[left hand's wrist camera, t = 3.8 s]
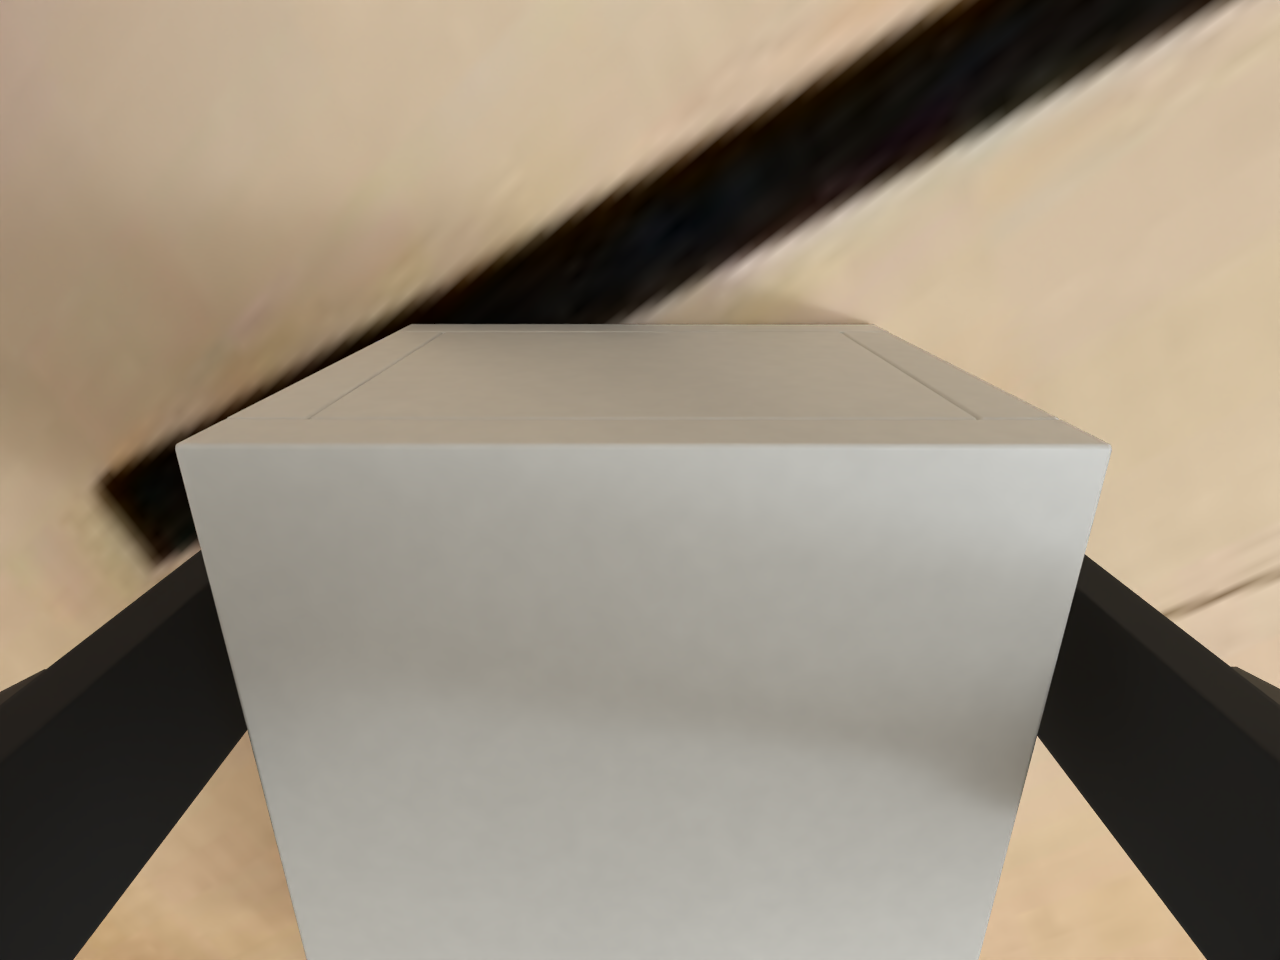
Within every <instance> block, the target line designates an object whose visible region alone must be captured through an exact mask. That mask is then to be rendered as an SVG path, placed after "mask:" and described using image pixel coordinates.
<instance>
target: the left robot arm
mask: <svg viewBox="0 0 1280 960" xmlns="http://www.w3.org/2000/svg"><path fill="white" fill-rule="evenodd" d="M246 731H247V726H246V722H245V718H244V714H243V710H242V706H241V703H240V699H239V695H238V691H237V687H236V683H235V679H234V675H233V671H232V668H231V664H230V660H229V656H228V652H227V648H226V644H225V640H224V637H223V633H222V629H221V625H220V621H219V617H218V613H217V609H216V606H215V602H214V598H213V594H212V590H211V586H210V582H209V578H208V574H207V571H206V567H205V563H204V559H203V555H202V551H201V550H200V551H199V552H198V553H196V554H195V555H194V556H193V557H191V558H190V559H189V560H187V561H186V562H185V563H183V564H182V565H181V566H180V567H178V568H177V569H176V570H174V571H173V572H172V573H170V574H169V575H168V576H167V577H165V578H164V579H163V580H161V581H160V582H159V583H158V584H156V585H155V586H154V587H152V588H151V589H150V590H148V591H147V592H146V593H145V594H143V595H142V596H141V597H139V598H138V599H137V600H136V601H134V602H133V603H132V604H130V605H129V606H128V607H126V608H125V609H124V610H123V611H121V612H120V613H119V614H117V615H116V616H115V617H114V618H112V619H111V620H110V621H108V622H107V623H106V624H104V625H103V626H102V627H101V628H99V629H98V630H97V631H95V632H94V633H93V634H91V635H90V636H89V637H88V638H86V639H85V640H84V641H82V642H81V643H80V644H79V645H77V646H76V647H75V648H73V649H72V650H71V651H69V652H68V653H67V654H66V655H64V656H63V657H62V658H60V659H59V660H58V661H57V662H55V663H54V664H53V665H51V666H50V667H49V668H47V669H44V670H42V671H40V672H38V673H36V674H34V675H32V676H30V677H28V678H27V679H25V680H23V681H21V682H19V683H17V684H15V685H13V686H11V687H9V688H7V689H5V690H3V691H1V692H0V960H73V959H74V958H75V957H76V955H77V954H78V953H79V951H80V950H81V949H82V947H83V946H84V945H85V943H86V942H87V941H88V939H89V938H90V937H91V935H92V934H93V933H94V931H95V930H96V929H97V927H98V926H99V925H100V924H101V922H102V921H103V920H104V918H105V917H106V916H107V914H108V913H109V912H110V910H111V909H112V908H113V906H114V905H115V904H116V902H117V901H118V900H119V898H120V897H121V896H122V894H123V893H124V892H125V890H126V889H127V888H128V887H129V885H130V884H131V883H132V881H133V880H134V879H135V877H136V876H137V875H138V873H139V872H140V871H141V869H142V868H143V867H144V865H145V864H146V863H147V861H148V860H149V859H150V857H151V856H152V855H153V854H154V852H155V851H156V850H157V848H158V847H159V846H160V844H161V843H162V842H163V840H164V839H165V838H166V836H167V835H168V834H169V832H170V831H171V830H172V828H173V827H174V826H175V824H176V823H177V822H178V821H179V819H180V818H181V817H182V815H183V814H184V813H185V811H186V810H187V809H188V807H189V806H190V805H191V803H192V802H193V801H194V799H195V798H196V797H197V795H198V794H199V793H200V791H201V790H202V789H203V787H204V786H205V785H206V784H207V782H208V781H209V780H210V778H211V777H212V776H213V774H214V773H215V772H216V770H217V769H218V768H219V766H220V765H221V764H222V762H223V761H224V760H225V758H226V757H227V756H228V754H229V753H230V752H231V751H232V749H233V748H234V747H235V745H236V744H237V743H238V741H239V740H240V739H241V737H242V736H243V735H244V733H245V732H246ZM1037 736H1038V737H1039V739H1040V740H1041V741H1042V743H1043V744H1044V745H1045V747H1046V748H1047V749H1048V750H1049V752H1050V753H1051V754H1052V756H1053V757H1054V758H1055V760H1056V761H1057V762H1058V764H1059V765H1060V766H1061V768H1062V769H1063V770H1064V772H1065V773H1066V774H1067V776H1068V777H1069V778H1070V780H1071V781H1072V782H1073V783H1074V785H1075V786H1076V787H1077V789H1078V790H1079V791H1080V793H1081V794H1082V795H1083V797H1084V798H1085V799H1086V801H1087V802H1088V803H1089V805H1090V806H1091V807H1092V809H1093V810H1094V811H1095V813H1096V814H1097V815H1098V817H1099V818H1100V819H1101V820H1102V822H1103V823H1104V824H1105V826H1106V827H1107V828H1108V830H1109V831H1110V832H1111V834H1112V835H1113V836H1114V838H1115V839H1116V840H1117V842H1118V843H1119V844H1120V846H1121V847H1122V848H1123V850H1124V851H1125V852H1126V853H1127V855H1128V856H1129V857H1130V859H1131V860H1132V861H1133V863H1134V864H1135V865H1136V867H1137V868H1138V869H1139V871H1140V872H1141V873H1142V875H1143V876H1144V877H1145V879H1146V880H1147V881H1148V883H1149V884H1150V885H1151V886H1152V888H1153V889H1154V890H1155V892H1156V893H1157V894H1158V896H1159V897H1160V898H1161V900H1162V901H1163V902H1164V904H1165V905H1166V906H1167V908H1168V909H1169V910H1170V912H1171V913H1172V914H1173V916H1174V917H1175V918H1176V920H1177V921H1178V922H1179V923H1180V925H1181V926H1182V927H1183V929H1184V930H1185V931H1186V933H1187V934H1188V935H1189V937H1190V938H1191V939H1192V941H1193V942H1194V943H1195V945H1196V946H1197V947H1198V949H1199V950H1200V951H1201V953H1202V954H1203V955H1204V956H1205V958H1206V959H1207V960H1280V689H1279V688H1277V687H1275V686H1273V685H1271V684H1269V683H1267V682H1265V681H1263V680H1261V679H1259V678H1257V677H1255V676H1254V675H1252V674H1250V673H1248V672H1246V671H1244V670H1242V669H1240V668H1238V667H1230V666H1229V665H1227V664H1226V663H1225V662H1224V661H1222V660H1221V659H1220V658H1218V657H1217V656H1216V655H1214V654H1213V653H1212V652H1211V651H1209V650H1208V649H1207V648H1205V647H1204V646H1203V645H1201V644H1200V643H1199V642H1198V641H1196V640H1195V639H1194V638H1192V637H1191V636H1190V635H1189V634H1187V633H1186V632H1185V631H1183V630H1182V629H1181V628H1179V627H1178V626H1177V625H1176V624H1174V623H1173V622H1172V621H1170V620H1169V619H1168V618H1167V617H1165V616H1164V615H1163V614H1161V613H1160V612H1159V611H1157V610H1156V609H1155V608H1154V607H1152V606H1151V605H1150V604H1148V603H1147V602H1146V601H1145V600H1143V599H1142V598H1141V597H1139V596H1138V595H1137V594H1135V593H1134V592H1133V591H1132V590H1130V589H1129V588H1128V587H1126V586H1125V585H1124V584H1122V583H1121V582H1120V581H1119V580H1117V579H1116V578H1115V577H1113V576H1112V575H1111V574H1110V573H1108V572H1107V571H1106V570H1104V569H1103V568H1102V567H1100V566H1099V565H1098V564H1097V563H1095V562H1094V561H1093V560H1091V559H1090V558H1089V557H1088V556H1086V555H1085V554H1084V558H1083V562H1082V566H1081V569H1080V573H1079V577H1078V581H1077V585H1076V589H1075V592H1074V596H1073V600H1072V604H1071V608H1070V612H1069V615H1068V619H1067V623H1066V627H1065V631H1064V634H1063V638H1062V642H1061V646H1060V650H1059V654H1058V657H1057V661H1056V665H1055V669H1054V673H1053V676H1052V680H1051V684H1050V688H1049V692H1048V696H1047V699H1046V703H1045V707H1044V711H1043V715H1042V719H1041V722H1040V726H1039V730H1038V734H1037Z"/></svg>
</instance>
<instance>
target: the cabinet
mask: <svg viewBox="0 0 1280 960" xmlns="http://www.w3.org/2000/svg"><path fill="white" fill-rule="evenodd" d="M175 450H176V454H177V458H178V462H179V466H180V470H181V474H182V477H183V481H184V485H185V489H186V493H187V497H188V501H189V505H190V509H191V512H192V516H193V520H194V524H195V528H196V532H197V536H198V540H199V543H200V547H201V551H202V555H203V559H204V563H205V567H206V571H207V574H208V578H209V582H210V586H211V590H212V594H213V598H214V602H215V606H216V609H217V613H218V617H219V621H220V625H221V629H222V633H223V637H224V640H225V644H226V648H227V652H228V656H229V660H230V664H231V668H232V671H233V675H234V679H235V683H236V687H237V691H238V695H239V699H240V703H241V706H242V710H243V714H244V718H245V722H246V726H247V730H248V734H249V737H250V741H251V745H252V749H253V753H254V757H255V761H256V765H257V769H258V772H259V776H260V780H261V784H262V788H263V792H264V796H265V800H266V803H267V807H268V811H269V815H270V819H271V823H272V827H273V831H274V834H275V838H276V842H277V846H278V850H279V854H280V858H281V862H282V866H283V869H284V873H285V877H286V881H287V885H288V889H289V893H290V897H291V900H292V904H293V908H294V912H295V916H296V920H297V924H298V928H299V931H300V935H301V939H302V943H303V947H304V951H305V955H306V959H307V960H978V959H979V956H980V952H981V948H982V944H983V940H984V936H985V933H986V929H987V925H988V921H989V917H990V914H991V910H992V906H993V902H994V898H995V894H996V891H997V887H998V883H999V879H1000V875H1001V871H1002V868H1003V864H1004V860H1005V856H1006V852H1007V849H1008V845H1009V841H1010V837H1011V833H1012V829H1013V826H1014V822H1015V818H1016V814H1017V810H1018V806H1019V803H1020V799H1021V795H1022V791H1023V787H1024V784H1025V780H1026V776H1027V772H1028V768H1029V764H1030V761H1031V757H1032V753H1033V749H1034V745H1035V741H1036V738H1037V734H1038V730H1039V726H1040V722H1041V719H1042V715H1043V711H1044V707H1045V703H1046V699H1047V696H1048V692H1049V688H1050V684H1051V680H1052V676H1053V673H1054V669H1055V665H1056V661H1057V657H1058V654H1059V650H1060V646H1061V642H1062V638H1063V634H1064V631H1065V627H1066V623H1067V619H1068V615H1069V612H1070V608H1071V604H1072V600H1073V596H1074V592H1075V589H1076V585H1077V581H1078V577H1079V573H1080V569H1081V566H1082V562H1083V558H1084V554H1085V550H1086V547H1087V543H1088V539H1089V535H1090V531H1091V527H1092V524H1093V520H1094V516H1095V512H1096V508H1097V504H1098V501H1099V497H1100V493H1101V489H1102V485H1103V482H1104V478H1105V474H1106V470H1107V466H1108V462H1109V459H1110V455H1111V451H1112V448H1111V445H1110V444H1108V443H1106V442H1104V441H1102V440H1100V439H1098V438H1096V437H1094V436H1093V435H1091V434H1089V433H1087V432H1085V431H1083V430H1081V429H1079V428H1077V427H1075V426H1073V425H1071V424H1069V423H1067V422H1065V421H1063V420H1059V419H1058V418H1057V417H1055V416H1053V415H1051V414H1049V413H1047V412H1045V411H1043V410H1041V409H1039V408H1037V407H1035V406H1033V405H1031V404H1029V403H1027V402H1025V401H1023V400H1021V399H1019V398H1017V397H1015V396H1013V395H1011V394H1009V393H1007V392H1005V391H1003V390H1001V389H999V388H997V387H995V386H993V385H992V384H990V383H988V382H986V381H984V380H982V379H980V378H978V377H976V376H974V375H972V374H970V373H968V372H966V371H964V370H962V369H960V368H958V367H956V366H954V365H952V364H950V363H948V362H946V361H944V360H942V359H940V358H938V357H936V356H934V355H932V354H930V353H928V352H926V351H924V350H922V349H920V348H918V347H916V346H915V345H913V344H911V343H909V342H907V341H905V340H903V339H901V338H899V337H897V336H895V335H893V334H891V333H889V332H888V331H886V330H884V329H882V328H880V327H878V326H876V325H874V324H411V325H409V326H407V327H405V328H403V329H401V330H399V331H397V332H395V333H393V334H391V335H389V336H387V337H385V338H383V339H381V340H379V341H377V342H375V343H374V344H372V345H370V346H368V347H366V348H364V349H362V350H360V351H358V352H356V353H354V354H352V355H350V356H348V357H346V358H344V359H342V360H340V361H338V362H336V363H334V364H332V365H330V366H328V367H326V368H324V369H322V370H320V371H318V372H316V373H314V374H312V375H310V376H308V377H307V378H305V379H303V380H301V381H299V382H297V383H295V384H293V385H291V386H289V387H287V388H285V389H283V390H281V391H279V392H277V393H275V394H273V395H271V396H269V397H267V398H265V399H263V400H261V401H259V402H257V403H255V404H253V405H251V406H249V407H247V408H245V409H243V410H241V411H239V412H238V413H236V414H234V415H232V416H230V417H228V418H227V419H225V420H223V421H221V422H219V423H217V424H215V425H213V426H211V427H209V428H207V429H205V430H203V431H201V432H199V433H197V434H195V435H193V436H191V437H189V438H187V439H185V440H183V441H181V442H179V443H177V444H176V447H175Z"/></svg>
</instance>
